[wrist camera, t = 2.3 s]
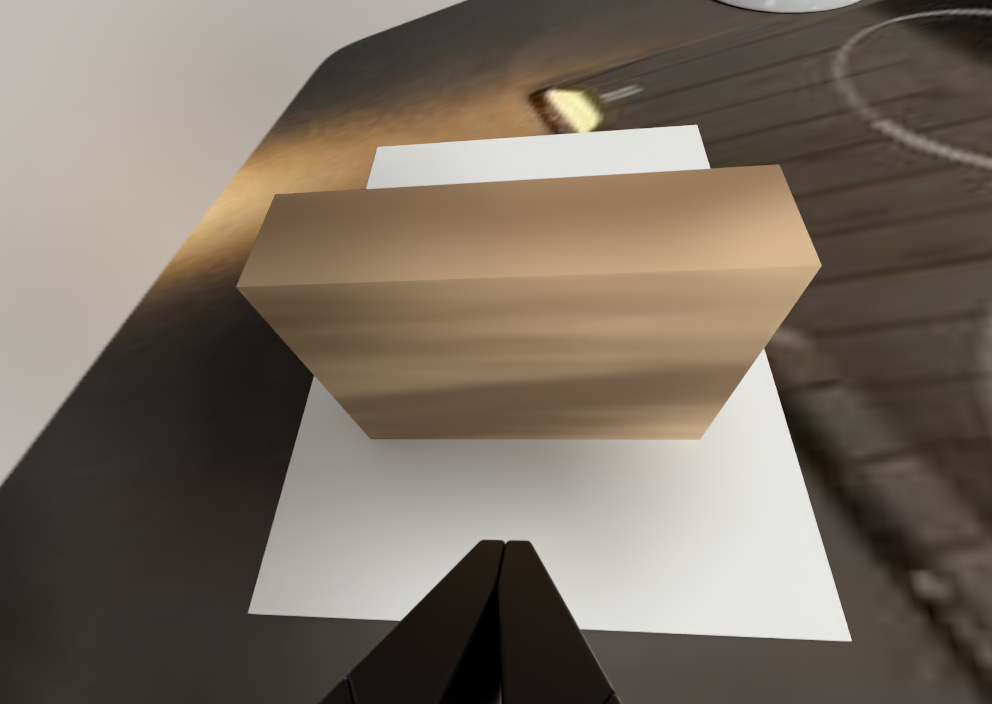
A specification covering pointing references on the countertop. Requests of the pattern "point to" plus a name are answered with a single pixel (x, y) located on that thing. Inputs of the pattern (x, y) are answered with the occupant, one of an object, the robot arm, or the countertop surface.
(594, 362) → the oak board
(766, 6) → the utensil holder
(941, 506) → the countertop surface
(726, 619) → the mat
